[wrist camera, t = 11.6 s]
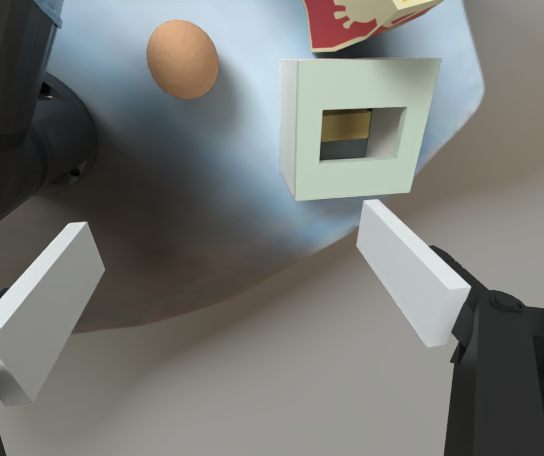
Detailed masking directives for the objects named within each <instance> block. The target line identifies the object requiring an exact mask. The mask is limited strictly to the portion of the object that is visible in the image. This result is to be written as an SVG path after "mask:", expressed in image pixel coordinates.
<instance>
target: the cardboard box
mask: <svg viewBox="0 0 544 456" xmlns="http://www.w3.org/2000/svg"><path fill="white" fill-rule="evenodd" d="M370 117H371V112H369V111H366V110H364V109H361V108H358V109H333V110H323V112H322V127H321V142H325V141H337V140H349V139H361V138H368V134H369V126H370Z"/></svg>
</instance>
